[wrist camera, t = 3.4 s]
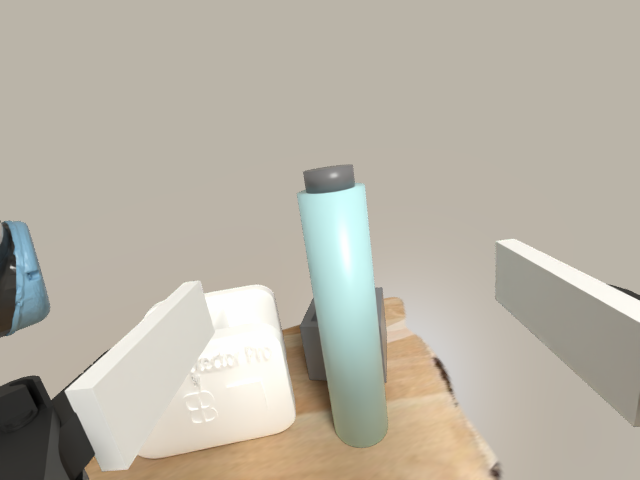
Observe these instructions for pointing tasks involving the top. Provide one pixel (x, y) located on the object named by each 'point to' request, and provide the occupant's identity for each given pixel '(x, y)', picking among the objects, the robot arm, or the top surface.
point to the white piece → (230, 379)
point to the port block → (314, 343)
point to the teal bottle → (345, 301)
